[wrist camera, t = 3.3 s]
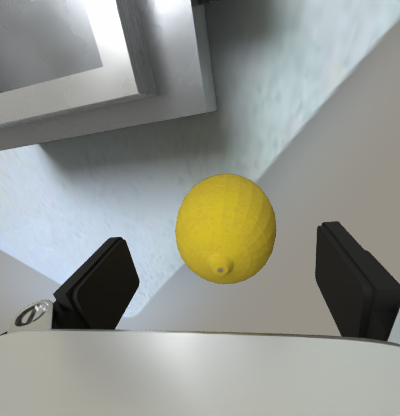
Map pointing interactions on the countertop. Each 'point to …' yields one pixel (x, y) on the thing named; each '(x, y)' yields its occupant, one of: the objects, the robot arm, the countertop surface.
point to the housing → (100, 66)
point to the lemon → (225, 229)
